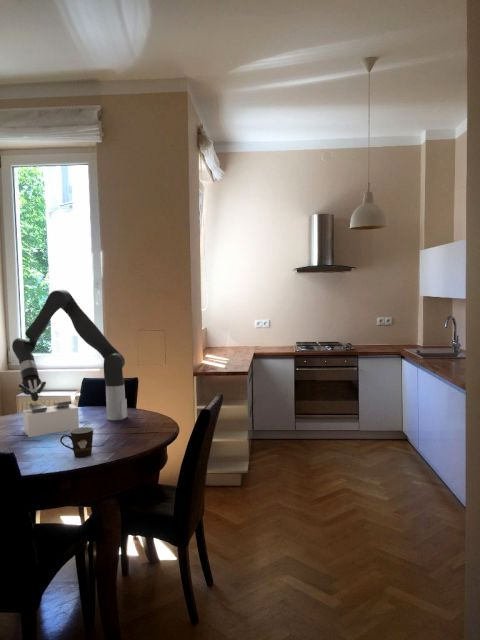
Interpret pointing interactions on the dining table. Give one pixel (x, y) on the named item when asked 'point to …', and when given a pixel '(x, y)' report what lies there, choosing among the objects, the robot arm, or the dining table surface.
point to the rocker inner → (62, 403)
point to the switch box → (50, 420)
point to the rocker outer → (37, 407)
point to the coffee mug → (81, 441)
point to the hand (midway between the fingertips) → (35, 400)
